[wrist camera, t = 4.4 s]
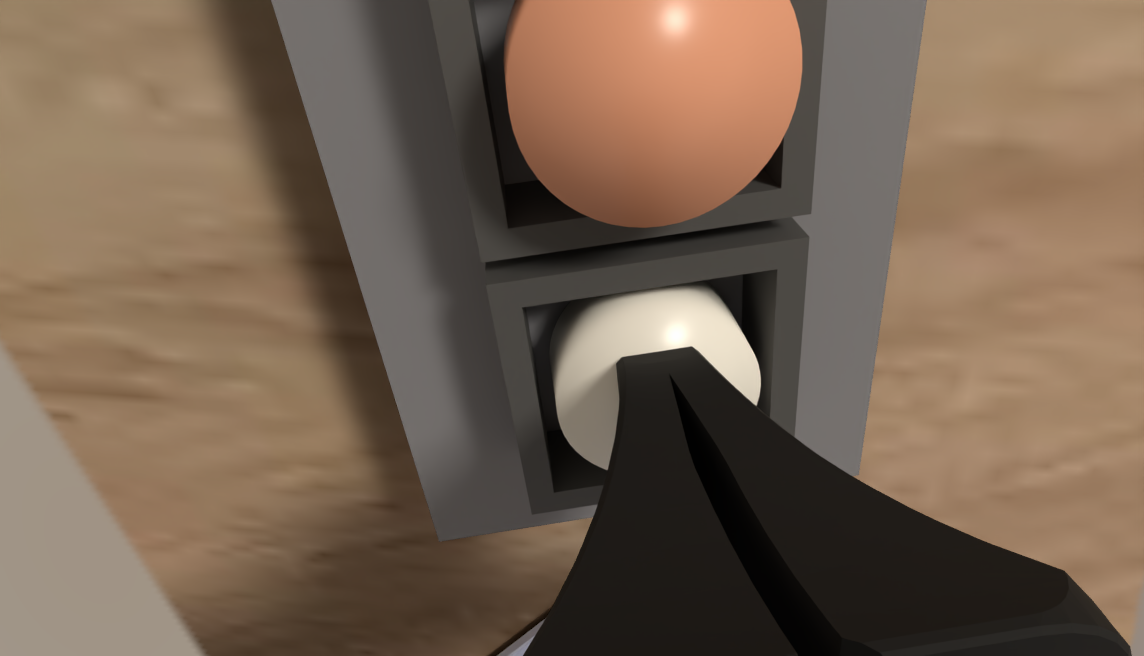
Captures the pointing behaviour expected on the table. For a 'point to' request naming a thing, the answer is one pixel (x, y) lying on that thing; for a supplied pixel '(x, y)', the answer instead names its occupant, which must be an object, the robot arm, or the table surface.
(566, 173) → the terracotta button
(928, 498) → the table surface
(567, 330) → the cream button
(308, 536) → the table surface
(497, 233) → the charcoal button panel
